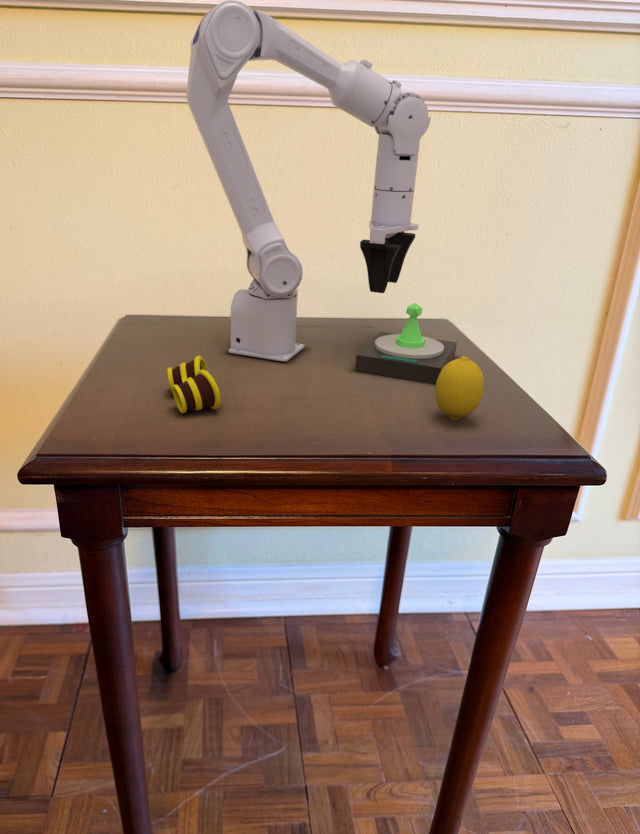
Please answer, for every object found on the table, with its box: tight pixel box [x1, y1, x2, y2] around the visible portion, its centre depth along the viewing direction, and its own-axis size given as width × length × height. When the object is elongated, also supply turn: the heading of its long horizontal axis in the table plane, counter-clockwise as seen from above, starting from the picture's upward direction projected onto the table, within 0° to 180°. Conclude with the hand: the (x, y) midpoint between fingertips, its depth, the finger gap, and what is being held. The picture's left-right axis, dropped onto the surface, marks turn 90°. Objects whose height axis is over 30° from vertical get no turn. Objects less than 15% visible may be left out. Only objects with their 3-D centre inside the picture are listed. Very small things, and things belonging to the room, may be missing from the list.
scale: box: [354, 331, 458, 385], centre depth 100 cm, size 12×13×3 cm
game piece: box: [395, 302, 425, 348], centre depth 98 cm, size 4×4×6 cm
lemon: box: [434, 355, 485, 421], centre depth 81 cm, size 6×6×8 cm
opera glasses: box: [167, 355, 222, 414], centre depth 84 cm, size 10×5×5 cm, turn 15°
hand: (383, 286), depth 103 cm, fingers open, 7 cm apart
